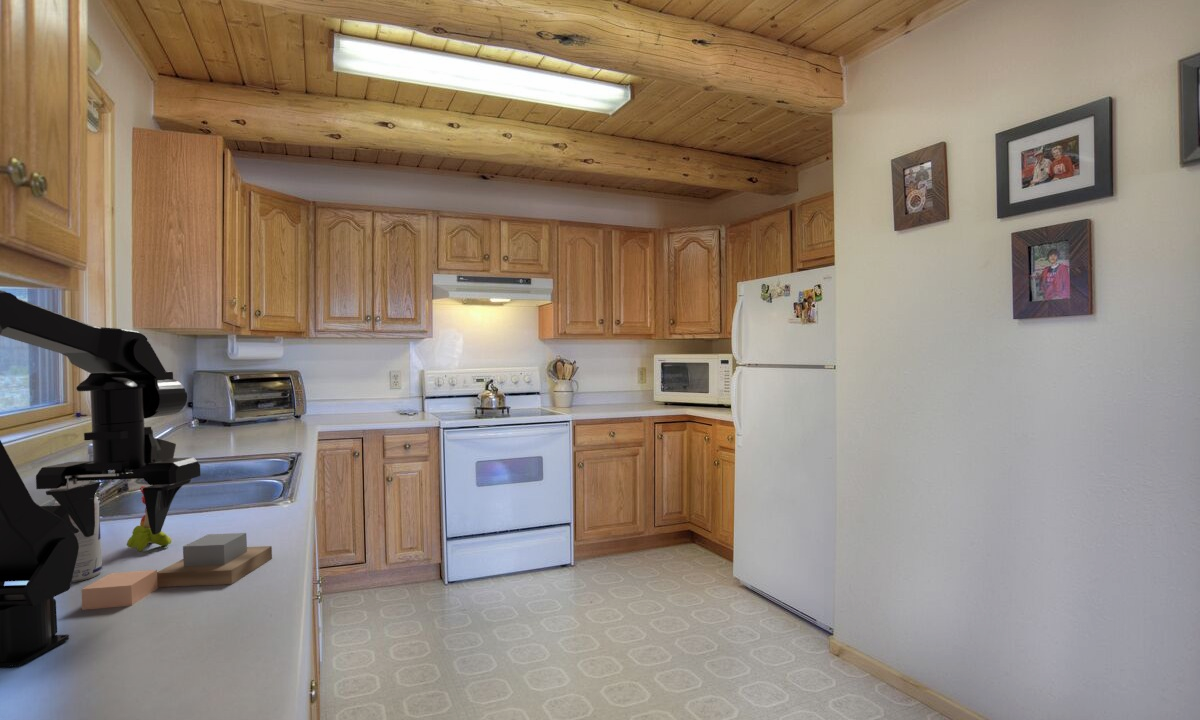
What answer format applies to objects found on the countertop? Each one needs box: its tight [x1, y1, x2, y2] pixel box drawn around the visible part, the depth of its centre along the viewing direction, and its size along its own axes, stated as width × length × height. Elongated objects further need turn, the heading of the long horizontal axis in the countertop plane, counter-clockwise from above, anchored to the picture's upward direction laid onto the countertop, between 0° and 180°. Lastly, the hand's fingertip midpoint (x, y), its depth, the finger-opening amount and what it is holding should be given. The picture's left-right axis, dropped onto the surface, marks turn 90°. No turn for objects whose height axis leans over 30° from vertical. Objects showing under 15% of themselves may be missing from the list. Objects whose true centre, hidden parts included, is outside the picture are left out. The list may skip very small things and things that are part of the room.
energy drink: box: [53, 495, 103, 584], centre depth 93 cm, size 5×5×12 cm
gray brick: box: [182, 532, 248, 567], centre depth 94 cm, size 6×6×3 cm
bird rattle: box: [125, 486, 172, 552], centre depth 109 cm, size 6×11×9 cm
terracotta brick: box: [81, 569, 159, 611], centre depth 84 cm, size 6×6×3 cm
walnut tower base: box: [157, 545, 273, 588], centre depth 94 cm, size 11×11×2 cm
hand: (123, 535), depth 84 cm, fingers open, 9 cm apart
